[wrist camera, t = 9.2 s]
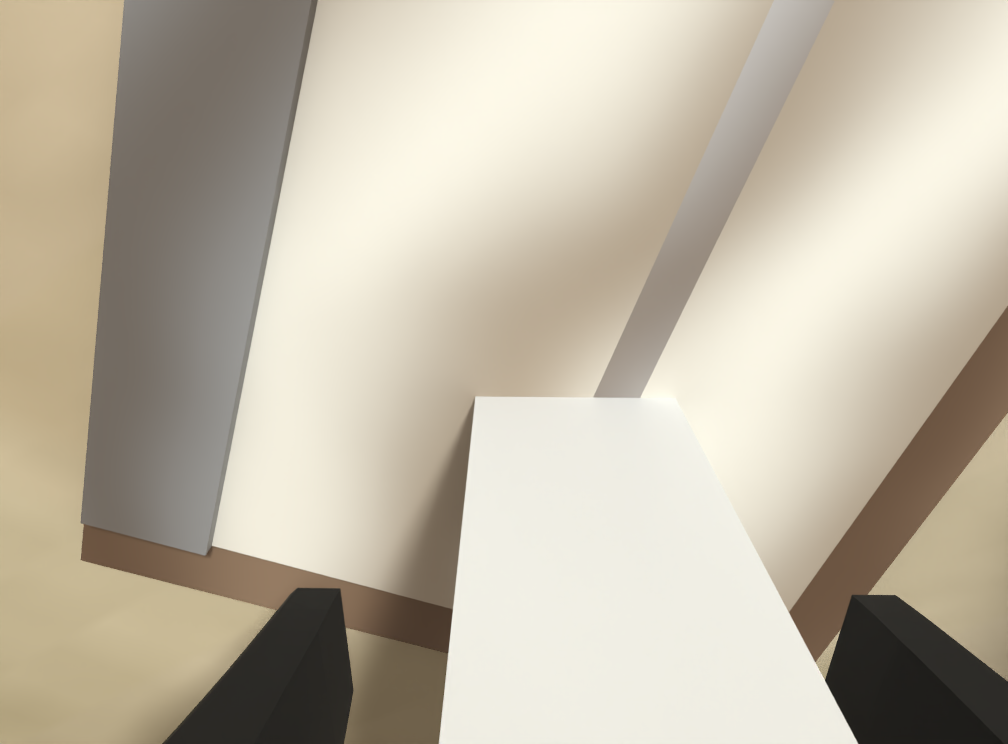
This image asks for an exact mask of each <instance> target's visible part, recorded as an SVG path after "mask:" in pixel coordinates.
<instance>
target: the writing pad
mask: <svg viewBox="0 0 1008 744" xmlns="http://www.w3.org/2000/svg"><path fill="white" fill-rule="evenodd" d="M475 396H485V397H595V398H676V400H677V402H678V404H679V406H680V408H681V409H682V411H683V413H684V415H685V417H686V419H687V421H688V423H689V425H690V426H691V428H692V430H693V432H694V434H695V436H696V438H697V440H698V442H699V443H700V445H701V447H702V449H703V451H704V453H705V455H706V457H707V459H708V461H709V462H710V464H711V466H712V468H713V470H714V472H715V474H716V476H717V478H718V479H719V481H720V483H721V485H722V487H723V489H724V491H725V493H726V495H727V496H728V498H729V500H730V502H731V504H732V506H733V508H734V510H735V512H736V514H737V515H738V517H739V519H740V521H741V523H742V525H743V527H744V529H745V531H746V532H747V534H748V536H749V538H750V540H751V542H752V544H753V546H754V548H755V549H756V551H757V553H758V555H759V557H760V559H761V561H762V563H763V565H764V567H765V568H766V570H767V572H768V574H769V576H770V578H771V580H772V582H773V584H774V585H775V587H776V589H777V591H778V593H779V595H780V597H781V599H782V601H783V602H784V604H785V606H786V608H787V610H788V612H789V614H790V616H791V618H792V620H793V621H794V623H795V625H796V627H797V629H798V631H799V633H800V635H801V637H802V638H803V640H804V642H805V644H806V646H807V648H808V650H809V652H810V654H811V655H812V657H813V659H814V661H815V662H816V661H817V659H818V658H819V657H820V655H821V654H822V653H823V651H824V650H825V649H826V648H827V646H828V645H829V644H830V642H831V641H832V640H833V638H834V637H835V636H836V635H837V633H838V632H839V631H840V629H841V628H842V625H843V622H844V618H845V615H846V612H847V609H848V606H849V602H850V599H851V596H852V595H867V594H868V593H869V592H870V591H871V589H872V588H873V587H874V585H875V584H876V583H877V581H878V580H879V579H880V578H881V576H882V575H883V574H884V572H885V571H886V570H887V568H888V567H889V566H890V565H891V563H892V562H893V561H894V559H895V558H896V557H897V556H898V554H899V553H900V552H901V550H902V549H903V548H904V546H905V545H906V544H907V543H908V541H909V540H910V539H911V537H912V536H913V535H914V533H915V532H916V531H917V530H918V528H919V527H920V526H921V524H922V523H923V522H924V520H925V519H926V518H927V517H928V515H929V514H930V513H931V511H932V510H933V509H934V508H935V506H936V505H937V504H938V502H939V501H940V500H941V498H942V497H943V496H944V495H945V493H946V492H947V491H948V489H949V488H950V487H951V485H952V484H953V483H954V482H955V480H956V479H957V478H958V476H959V475H960V474H961V473H962V471H963V470H964V469H965V467H966V466H967V465H968V463H969V462H970V461H971V460H972V458H973V457H974V456H975V454H976V453H977V452H978V450H979V449H980V448H981V447H982V445H983V444H984V443H985V441H986V440H987V439H988V438H989V436H990V435H991V434H992V432H993V431H994V430H995V428H996V427H997V426H998V425H999V423H1000V422H1001V421H1002V419H1003V418H1004V417H1005V415H1006V414H1007V413H1008V0H124V11H123V23H122V35H121V47H120V59H119V71H118V83H117V95H116V107H115V119H114V131H113V143H112V155H111V167H110V179H109V191H108V202H107V214H106V226H105V238H104V250H103V262H102V274H101V286H100V298H99V310H98V322H97V334H96V346H95V358H94V370H93V382H92V394H91V406H90V418H89V430H88V441H87V453H86V465H85V477H84V489H83V501H82V513H81V523H82V524H84V530H83V541H82V553H81V560H82V561H86V562H90V563H94V564H98V565H102V566H106V567H110V568H114V569H118V570H122V571H126V572H130V573H134V574H137V575H141V576H145V577H149V578H153V579H157V580H161V581H165V582H169V583H173V584H177V585H181V586H185V587H189V588H193V589H197V590H201V591H205V592H208V593H212V594H216V595H220V596H224V597H228V598H232V599H236V600H240V601H244V602H248V603H252V604H256V605H260V606H264V607H268V608H272V609H275V610H278V609H279V607H280V606H281V605H282V604H283V602H284V601H285V600H286V599H287V598H288V596H289V595H290V594H291V593H292V592H293V591H294V590H295V589H297V588H340V589H341V597H342V605H343V613H344V621H345V627H346V628H350V629H354V630H358V631H362V632H366V633H370V634H374V635H378V636H382V637H386V638H390V639H394V640H398V641H402V642H406V643H410V644H414V645H417V646H421V647H425V648H429V649H433V650H437V651H441V652H445V653H448V652H449V643H450V633H451V624H452V614H453V605H454V595H455V586H456V576H457V567H458V557H459V548H460V538H461V529H462V519H463V510H464V500H465V491H466V481H467V472H468V462H469V453H470V443H471V434H472V424H473V415H474V405H475Z"/></svg>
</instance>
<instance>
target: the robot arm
mask: <svg viewBox="0 0 1008 744" xmlns="http://www.w3.org/2000/svg"><path fill="white" fill-rule="evenodd" d="M825 682H826V684H827V686H828V688H829V690H830V691H831V693H832V695H833V697H834V699H835V701H836V703H837V705H838V707H839V708H840V710H841V712H842V714H843V716H844V718H845V720H846V722H847V724H848V726H849V727H850V729H851V731H852V733H853V735H854V737H855V739H856V741H857V743H858V744H1008V682H1007V681H1006V680H1005V679H1004V678H1002V677H1001V676H1000V675H999V674H997V673H996V672H995V671H993V670H992V669H991V668H990V667H988V666H987V665H986V664H985V663H983V662H982V661H981V660H979V659H978V658H977V657H976V656H974V655H973V654H972V653H970V652H969V651H968V650H967V649H965V648H964V647H963V646H962V645H960V644H959V643H958V642H956V641H955V640H954V639H953V638H951V637H950V636H949V635H948V634H946V633H945V632H944V631H942V630H941V629H940V628H939V627H937V626H936V625H935V624H933V623H932V622H931V621H929V620H928V619H927V618H926V617H924V616H923V615H922V614H920V613H919V612H918V611H916V610H915V609H914V608H912V607H911V606H910V605H908V604H907V603H905V602H904V601H903V600H901V599H900V598H899V597H897V596H896V595H852V596H851V599H850V602H849V606H848V609H847V612H846V615H845V618H844V622H843V625H842V628H841V631H840V634H839V638H838V641H837V644H836V647H835V650H834V654H833V657H832V660H831V663H830V666H829V669H828V673H827V676H826V679H825ZM352 695H353V684H352V676H351V668H350V660H349V652H348V644H347V636H346V628H345V621H344V613H343V605H342V597H341V589H340V588H297V589H295V590H294V591H293V592H292V593H291V594H290V595H289V596H288V598H287V599H286V600H285V601H284V602H283V604H282V605H281V606H280V607H279V609H278V610H277V611H276V612H275V614H274V615H273V616H272V617H271V619H270V620H269V621H268V622H267V624H266V625H265V626H264V627H263V628H262V630H261V631H260V632H259V633H258V635H257V636H256V637H255V638H254V639H253V641H252V642H251V643H250V644H249V645H248V647H247V648H246V649H245V650H244V651H243V653H242V654H241V655H240V656H239V657H238V659H237V660H236V661H235V662H234V663H233V665H232V666H231V667H230V668H229V669H228V670H227V672H226V673H225V674H224V675H223V676H222V677H221V679H220V680H219V681H218V682H217V683H216V684H215V685H214V687H213V688H212V689H211V690H210V691H209V692H208V693H207V694H206V696H205V697H204V698H203V699H202V700H201V701H200V702H199V704H198V705H197V706H196V707H195V708H194V709H193V710H192V712H191V713H190V714H189V715H188V716H187V717H186V718H185V719H184V721H183V722H182V723H181V724H180V725H179V726H178V727H177V728H176V730H175V731H174V732H173V733H172V734H171V735H170V736H169V737H168V738H167V739H166V740H165V741H164V743H163V744H344V739H345V734H346V729H347V723H348V718H349V712H350V707H351V701H352Z"/></svg>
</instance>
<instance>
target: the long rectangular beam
mask: <svg viewBox="0 0 1008 744" xmlns="http://www.w3.org/2000/svg"><path fill="white" fill-rule="evenodd" d="M439 744H858V743H857V741H856V739H855V737H854V735H853V733H852V731H851V729H850V727H849V726H848V724H847V722H846V720H845V718H844V716H843V714H842V712H841V710H840V708H839V707H838V705H837V703H836V701H835V699H834V697H833V695H832V693H831V691H830V690H829V688H828V686H827V684H826V682H825V680H824V678H823V676H822V674H821V673H820V671H819V669H818V667H817V665H816V663H815V661H814V659H813V657H812V655H811V654H810V652H809V650H808V648H807V646H806V644H805V642H804V640H803V638H802V637H801V635H800V633H799V631H798V629H797V627H796V625H795V623H794V621H793V620H792V618H791V616H790V614H789V612H788V610H787V608H786V606H785V604H784V602H783V601H782V599H781V597H780V595H779V593H778V591H777V589H776V587H775V585H774V584H773V582H772V580H771V578H770V576H769V574H768V572H767V570H766V568H765V567H764V565H763V563H762V561H761V559H760V557H759V555H758V553H757V551H756V549H755V548H754V546H753V544H752V542H751V540H750V538H749V536H748V534H747V532H746V531H745V529H744V527H743V525H742V523H741V521H740V519H739V517H738V515H737V514H736V512H735V510H734V508H733V506H732V504H731V502H730V500H729V498H728V496H727V495H726V493H725V491H724V489H723V487H722V485H721V483H720V481H719V479H718V478H717V476H716V474H715V472H714V470H713V468H712V466H711V464H710V462H709V461H708V459H707V457H706V455H705V453H704V451H703V449H702V447H701V445H700V443H699V442H698V440H697V438H696V436H695V434H694V432H693V430H692V428H691V426H690V425H689V423H688V421H687V419H686V417H685V415H684V413H683V411H682V409H681V408H680V406H679V404H678V402H677V400H676V398H595V397H485V396H475V405H474V415H473V424H472V434H471V443H470V453H469V462H468V472H467V481H466V491H465V500H464V510H463V519H462V529H461V538H460V548H459V557H458V567H457V576H456V586H455V595H454V605H453V614H452V624H451V633H450V643H449V652H448V662H447V671H446V681H445V690H444V700H443V709H442V719H441V728H440V738H439Z"/></svg>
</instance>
